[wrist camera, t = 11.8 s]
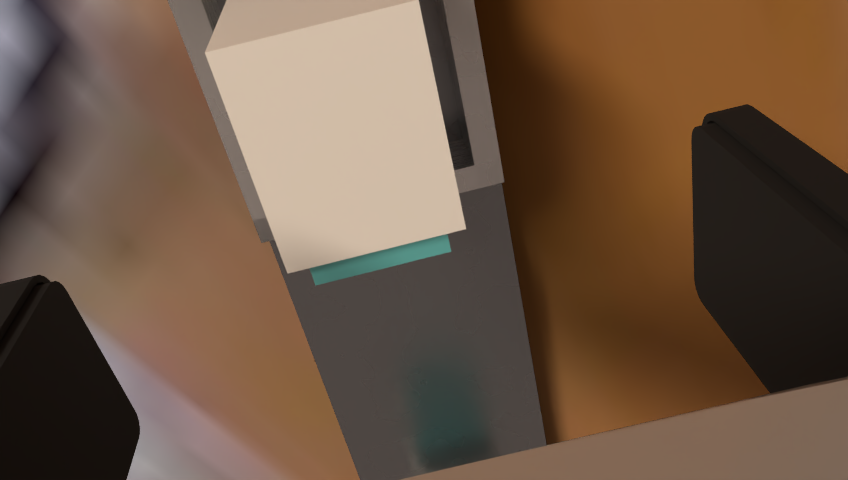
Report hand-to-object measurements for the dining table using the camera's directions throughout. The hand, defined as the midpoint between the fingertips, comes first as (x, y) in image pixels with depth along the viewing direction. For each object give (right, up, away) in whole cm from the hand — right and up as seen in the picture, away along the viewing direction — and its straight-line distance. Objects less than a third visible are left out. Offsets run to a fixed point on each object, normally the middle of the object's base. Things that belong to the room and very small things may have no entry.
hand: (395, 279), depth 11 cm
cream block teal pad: (-2, +6, +11) cm, 13 cm away
